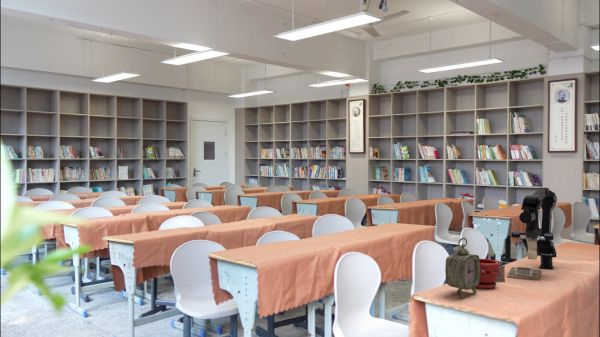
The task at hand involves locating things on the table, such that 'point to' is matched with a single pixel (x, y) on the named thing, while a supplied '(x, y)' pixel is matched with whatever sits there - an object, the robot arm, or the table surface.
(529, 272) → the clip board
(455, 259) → the tabletop clock
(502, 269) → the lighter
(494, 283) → the plant pot
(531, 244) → the peg
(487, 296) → the table surface
